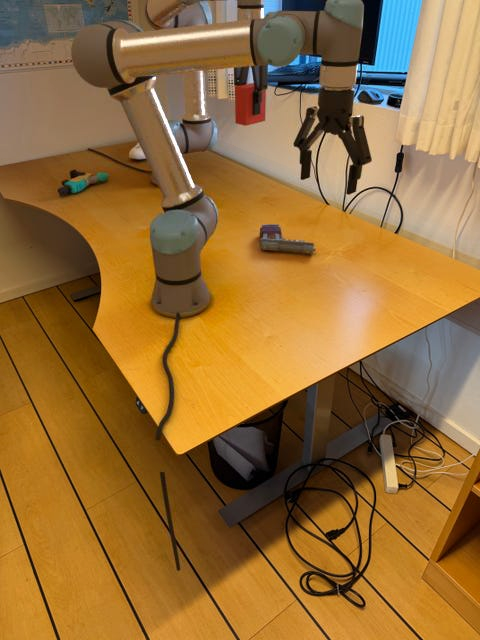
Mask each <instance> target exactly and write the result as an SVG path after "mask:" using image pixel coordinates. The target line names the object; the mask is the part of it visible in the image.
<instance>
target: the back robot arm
mask: <svg viewBox="0 0 480 640" xmlns="http://www.w3.org/2000/svg"><path fill="white" fill-rule="evenodd" d="M214 1H215V2H221V1H224V2H225V1H226V2H227V0H146V2H145V5H144V9H143V11H144V18H145V20H146V21H147V23H148V25H149V26H150V28H152V29H153V30H163V29H172V28H181V27H189V26H198V25H207V24H213V15H212V11H211V7H210V4H209V2H214ZM264 5H265V0H236V11H237V12H236V21H242V20H250V19H258V18H265V14H264V13H265V8H264ZM250 68H251V75H252V80H253V83H254V88H255V90H254V91H253V115H257V114H261V103H262V91H263V90H266V91H267V90H268V86H269V65H262V66H259V65H258V66H247V67H236V68H233V85H234V87H235V86H240V85H245V84H248V78H249V72H250ZM205 72H206V70H205V71H194V72H184V73H181V74H182V75H181V76H182V86H183V87H182V89H183V98H184V114H183V115H182V117H181V119H182V120H181V121H182V122H179V121H178V120H177V119H167V120H168V123H169V125H170V127H171V130H172V132H173V135H174V137H175V139H176V142H177V144H178V147H179V149H180V151H181V154H182V155H187V154H192V153H193V154H194V153H200V152H201V153H203V152H206V151H210V150H213V149H214V148H215V146H216V144H217V141H218V127H217V124H216V121H215V120H213V119H212V116H211V114H210V113H208V108H207V105H208V104H207V91H206V73H205ZM258 86H259V87H258ZM87 150H88V151H91V152H94V153H97V154H99V155H102V156H104V157H106V158H108V159H110V160H112V161H114V162H116V163H118V164H121V165H122V166H124V167H125V166H126V167H128V168H131V169H132V170H136V171H139V172H143V173H150V174H151V177H150V179H151V180H150V181H151V184H152V185H153V186H155V187H158V188H159V186H158V183H157V181H156V179H155V177H154V175H153V173H152V170H146V169H142V168H138V167H136V166H133V165H130V164H126V163H124V162H122V161H121V160H118V159H115V158H113V157H111V156H109V155H107V154H105V153H103V152H101V151H98V150H96V149H94V148H90V147H88V148H87Z"/></svg>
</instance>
